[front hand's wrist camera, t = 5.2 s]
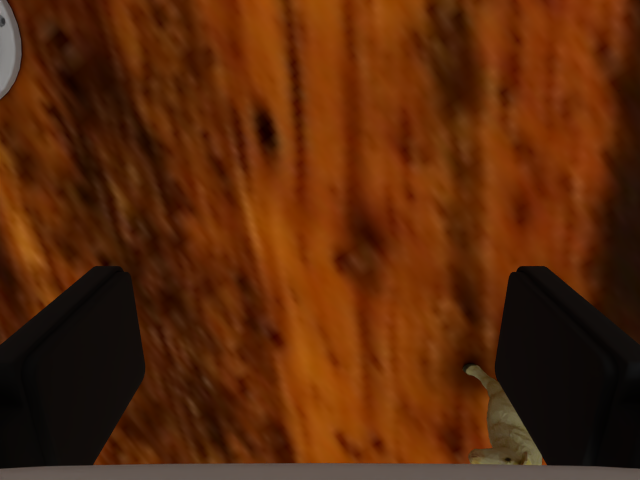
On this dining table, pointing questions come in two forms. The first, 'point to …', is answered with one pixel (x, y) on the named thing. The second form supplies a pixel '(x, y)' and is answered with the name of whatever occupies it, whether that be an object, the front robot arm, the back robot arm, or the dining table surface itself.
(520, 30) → the dining table surface
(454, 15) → the dining table surface
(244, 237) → the dining table surface
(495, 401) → the toy
